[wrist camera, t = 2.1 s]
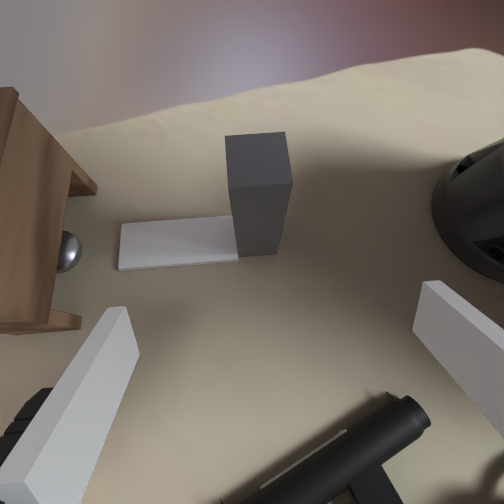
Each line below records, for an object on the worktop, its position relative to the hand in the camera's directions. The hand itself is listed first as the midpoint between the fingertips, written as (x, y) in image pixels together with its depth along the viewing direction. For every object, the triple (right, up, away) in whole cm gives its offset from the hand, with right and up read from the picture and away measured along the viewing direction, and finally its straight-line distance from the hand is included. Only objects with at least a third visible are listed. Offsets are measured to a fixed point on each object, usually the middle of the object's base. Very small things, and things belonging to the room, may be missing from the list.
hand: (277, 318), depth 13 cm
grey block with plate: (-7, +4, +17) cm, 19 cm away
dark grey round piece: (-21, +3, +17) cm, 28 cm away
